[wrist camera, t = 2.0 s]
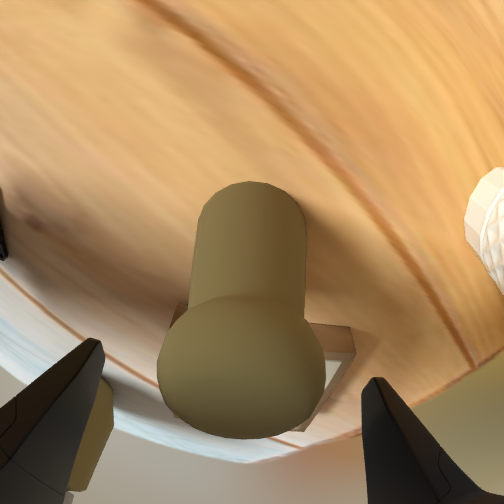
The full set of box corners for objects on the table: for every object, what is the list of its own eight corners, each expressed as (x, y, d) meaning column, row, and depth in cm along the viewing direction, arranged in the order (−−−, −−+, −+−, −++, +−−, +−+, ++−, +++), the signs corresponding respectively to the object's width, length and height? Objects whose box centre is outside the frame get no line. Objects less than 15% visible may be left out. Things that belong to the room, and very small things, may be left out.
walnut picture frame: (178, 395, 26) (173, 418, 24) (177, 303, 20) (167, 331, 17) (302, 410, 27) (304, 432, 24) (349, 327, 20) (356, 355, 18)
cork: (318, 261, 18) (357, 440, 8) (223, 289, 19) (195, 459, 9) (287, 165, 15) (327, 327, 5) (179, 203, 16) (87, 371, 7)
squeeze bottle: (117, 410, 29) (80, 543, 14) (56, 379, 27) (5, 506, 12) (130, 382, 25) (83, 551, 10) (57, 344, 24) (-14, 502, 8)
